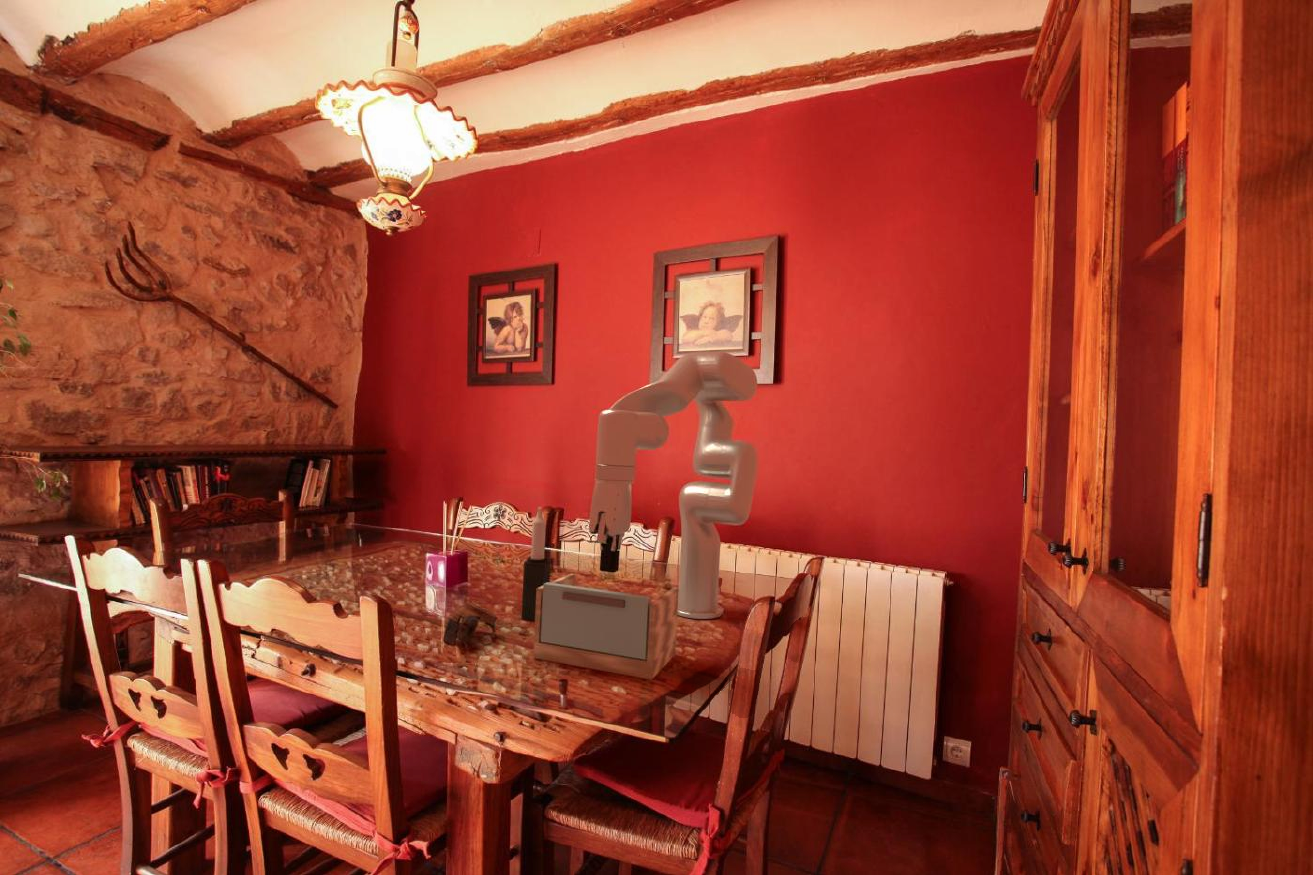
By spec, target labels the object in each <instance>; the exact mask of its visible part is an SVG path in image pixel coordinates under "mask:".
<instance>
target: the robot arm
mask: <svg viewBox="0 0 1313 875" xmlns="http://www.w3.org/2000/svg"><path fill="white" fill-rule="evenodd" d="M757 388H758V378H757V374H756V373H755V370H754V369H753V367H751V366H750V365H749V364H748V363H746V362H744V361H743V360H741V359H740V358H738V357H737V356H735V355H734V354H731V353H729V352H727V351H725V352H724V351H699V352H698V351H697V352H696V351H695V352H688V353H685V354H683V355H682V356H681V357H680V358H679V359H677V360H676V361H675V363H673V365H672V366H671V367H670V368H669V369H668V370H667V371H666V372H665V373H664V374H663V375H662V376H661V377H659V379H658V380H657V381H654V382H651V383H650V384H647V385H644V386H643V387H641V388H638V389H636V390H634V391H631V392H629V393H627V394H626V395H624V396H622V397H621V398H620V399H618V400H617V401H616V402H615V403H614V404H613V405H612V406H611V407H610V408H609V409H604V410H602V411H601V412H600V413H599V415H598V423H597V424H598V425H597V437H596V438H597V439H596V440H597V442H596V453H595V454H596V459H595V470H594V482H595V484H594V487H593V493H592V497H591V505H590V512H589V513H590V514H589V521H588V522H589V525H588V532H589V533H590V534H591V535H596V542H597V543H598V544H599V550H600V557H599V558H600V561H599V571H600V572H604V573H605V572H606V573H613V574H614V573H617V572H618V571H619V567H620V552H621V551H620V550H621V546H622V540H623V538H624V537H625V533H627V532H628V531H629V530H630V528H631V522H632V521H631V520H632V503H633V502H632V485H633V484H635V478H636V476H635V475H636V461H637V460H636V459H637V458H636V457H637V450H639V451H640V450H645V451H654V450H657V449H660V448H661V447H663V446H664V445H665V444H666V443H667V441H668V439H669V436H670V427H669V424H668V422H667V420H666V419H665V417H669V416H671V415H675V414H678V413H680V412H683V411H684V410H686V409H687V407H688V406H689V405H690V404H691V403H692V401H694V403H695V406H696V408H697V413H698V416H699V418H698V419H699V420H698V422H699V423H698V428H697V429H698V430H697V436H696V441H695V447H694V452H693V459H692V466H693V470H694V472H695V473H696V474H697V475H698V476H702V477H706V478H712V479H725V480H731V481H730V483H731V484H729V483H720V482H714V481H713V482H712V481H704V480H703V481H700V480H698V481H691V482H688V483H686V484H685V485H683V487H682V488H681V489H680V492H679V495H678V506H679V508H678V509H679V514H680V524H681V530H680V531H681V532H680V533H681V536H680V538H681V539H680V557H679V558H680V559H679V579H678V588H679V592H678V612H677V616H680V617H683V618H689V619H695V620H710V619H716V618H719V617H721V615H724V610H725V609H724V607H722V606H721V604H718V602H719V600H718V599H719V581H720V580H719V578H720V558H721V537H720V534H719V532H718V530H717V528H716V526H715V523H716V524H722V525H730V526H741V525H743V524H745V523H747V521H748V519H749V516H750V513H751V510H752V505H753V499H754V492H755V486H756V479H757V476H758V475H757V474H758V464H759V460H758V452H757V449H756V447H755V445H754V444H753V443H751V442H749V441H748V440H747V441H746V440H739V439H733V432H734V431H733V429H734V420H733V417H732V414H731V412H730V411H729V409H728V408H727V407H726V406H725V404H724V402H746V401H749V400H751V399H753V397H754V396H755V394H756V392H757Z"/></svg>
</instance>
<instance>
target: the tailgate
mask: <svg viewBox="0 0 1313 875" xmlns="http://www.w3.org/2000/svg"><path fill="white" fill-rule="evenodd" d="M651 603H652V597H651V596H650V595H641V594H637V593H636V594H635V593H634V594H633V593H628V592H621V591H619V592H618V591H612V590H606V589H601V588H600V589H599V588H591V587H586V586H585V587H583V586H578V585H574V586H571V585H564V584H556V583H549V582H547V583H545V584H543V604H542V626H541V642H546V643H552V644H558V645H564V646H569V647H575V648H581V649H587V650H593V651H598V652H604V653H610V654H616V655H621V656H627V657H633V658H639V659H646V658H647V656H648V635H649V615H650V604H651Z"/></svg>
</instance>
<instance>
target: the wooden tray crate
mask: <svg viewBox="0 0 1313 875" xmlns="http://www.w3.org/2000/svg"><path fill="white" fill-rule="evenodd" d="M575 578H576V574H575V573H569V574H566V575H564V576H562V577H559V578H557V579H555V580H553V581H550V583H556V584H564V585H571V586H575ZM678 595H679V587H675V586H673V587H672V588H670V589H669V590H668V591H666V592H665V593H663V595H661V596H660V597H658V598H657V599H655V600H654V601H653V602H651V604H650V615H649V635H648V656H647V658H646V659H639V658H633V657H627V656H621V655H616V654H610V653H604V652H598V651H593V650H587V649H581V648H575V647H569V646H564V645H558V644H552V643H546V642H541V626H542V604H543V586H541V587H539V588H537V589H536V610H535V621H534V634H533V636H534V638H533V652H532V654H533V656H532V657H533V659H536V660H542V661H547V662H548V661H549V662H551V663H552V662H554V663H559V664H563V665H564V664H565V665H568V666H575V667H580V668H584V669H585V668H586V669H590V670H597V671H603V672H608V673H613V674H619V675H624V676H630V677H636V678H640V679H645V680H646V679H647V680H653V679H654V678H655V677H656V676H657V675H658V674H659V673H660V671H661V670H663V668H665V666H666V665H667V664H668V663H669V662H670V661H671V659H672V658H673V657H674V656H675V655H676V650H677V649H676V648H677V628H678V615H677V612H678Z"/></svg>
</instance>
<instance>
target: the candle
mask: <svg viewBox="0 0 1313 875" xmlns="http://www.w3.org/2000/svg"><path fill="white" fill-rule="evenodd" d="M542 510H543V508H542V507H541V506H539V507H538V508H537V512H536V516H535V518H534V519H533V521H532V529H531V530H532V532H531V533H532V534H531V549H530V550H531V552H530V556H528V557H527V559H526V560H525V561H524V562H523V575H522V576H523V577H522V578H523V579H522V596H521V600H522V601H521V615H520V616H521V620H523V621H530V622H531V621H532V622H535V610H536V589H537V588H539V587H541V586H543V584H545V583H547V582H549V583H550V582H551V565H552V564H551V560H550V559H548V557H546V556H545V547H546V546H545V545H546V529H547V528H546V527H547V523H546V520H545V519H544V516H543V512H542Z"/></svg>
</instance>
